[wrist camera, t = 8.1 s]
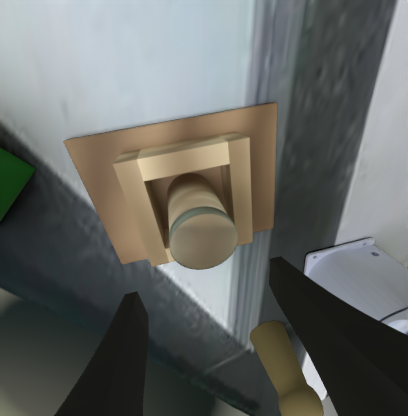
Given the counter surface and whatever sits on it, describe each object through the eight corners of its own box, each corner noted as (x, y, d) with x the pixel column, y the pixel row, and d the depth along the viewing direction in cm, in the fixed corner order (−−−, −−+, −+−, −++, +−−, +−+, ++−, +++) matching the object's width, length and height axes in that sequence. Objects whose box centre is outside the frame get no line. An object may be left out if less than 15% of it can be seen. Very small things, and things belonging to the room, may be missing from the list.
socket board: (271, 102, 17) (300, 103, 13) (269, 223, 22) (288, 245, 19) (68, 139, 15) (41, 150, 12) (123, 257, 21) (116, 288, 18)
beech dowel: (210, 168, 17) (237, 206, 11) (214, 210, 19) (239, 261, 13) (162, 176, 17) (162, 221, 11) (171, 218, 19) (176, 275, 13)
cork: (247, 328, 32) (285, 426, 22) (284, 316, 32) (336, 408, 22) (251, 347, 35) (285, 441, 25) (284, 336, 35) (330, 425, 26)
